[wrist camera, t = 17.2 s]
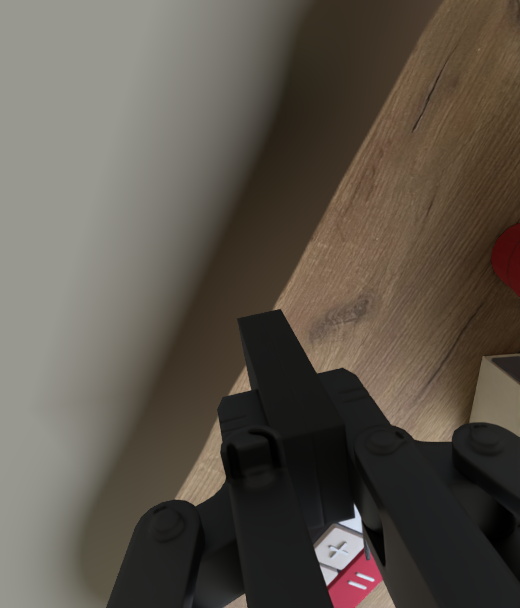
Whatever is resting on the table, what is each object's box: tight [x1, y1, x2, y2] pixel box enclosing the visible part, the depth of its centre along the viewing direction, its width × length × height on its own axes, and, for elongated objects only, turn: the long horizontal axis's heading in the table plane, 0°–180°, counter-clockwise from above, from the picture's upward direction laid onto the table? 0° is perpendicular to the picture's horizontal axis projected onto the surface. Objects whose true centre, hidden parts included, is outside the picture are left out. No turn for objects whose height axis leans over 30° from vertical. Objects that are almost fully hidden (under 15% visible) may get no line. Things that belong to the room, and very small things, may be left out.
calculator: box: [309, 504, 383, 608], centre depth 53 cm, size 11×4×15 cm
